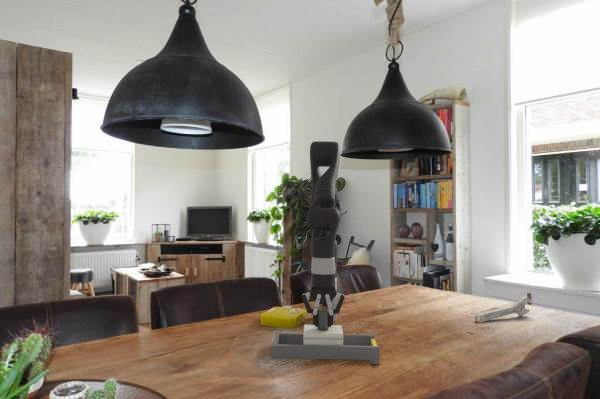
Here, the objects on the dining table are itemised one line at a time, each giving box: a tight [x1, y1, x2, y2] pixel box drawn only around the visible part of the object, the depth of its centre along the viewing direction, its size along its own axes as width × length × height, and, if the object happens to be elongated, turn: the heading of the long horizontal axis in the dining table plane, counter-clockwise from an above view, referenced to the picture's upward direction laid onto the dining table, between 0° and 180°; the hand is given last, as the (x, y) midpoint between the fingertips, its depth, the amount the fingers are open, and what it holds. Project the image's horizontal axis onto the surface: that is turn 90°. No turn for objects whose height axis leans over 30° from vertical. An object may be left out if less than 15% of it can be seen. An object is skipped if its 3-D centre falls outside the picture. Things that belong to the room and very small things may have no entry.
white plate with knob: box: [302, 308, 344, 345], centre depth 130 cm, size 9×12×13 cm
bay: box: [271, 332, 381, 365], centre depth 129 cm, size 12×32×5 cm, turn 88°
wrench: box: [474, 296, 533, 323], centre depth 173 cm, size 8×2×30 cm
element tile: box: [260, 306, 307, 329], centre depth 167 cm, size 15×15×5 cm
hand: (323, 326), depth 130 cm, fingers closed on white plate with knob, 3 cm apart
